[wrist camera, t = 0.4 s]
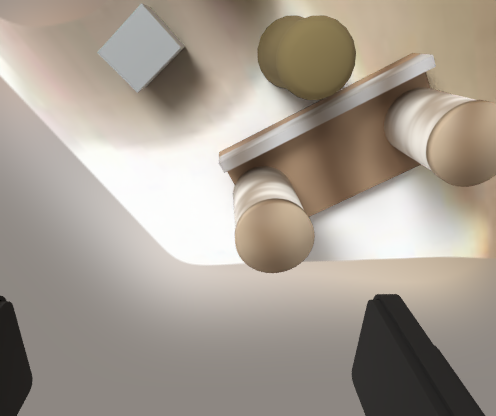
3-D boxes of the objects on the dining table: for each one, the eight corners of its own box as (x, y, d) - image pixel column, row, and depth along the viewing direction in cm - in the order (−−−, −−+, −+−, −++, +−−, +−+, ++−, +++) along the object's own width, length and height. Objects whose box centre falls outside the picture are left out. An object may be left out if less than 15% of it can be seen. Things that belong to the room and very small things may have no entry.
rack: (424, 47, 33) (505, 51, 24) (449, 143, 37) (527, 179, 28) (209, 157, 36) (205, 200, 27) (253, 235, 40) (264, 296, 31)
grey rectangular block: (150, 7, 31) (141, 3, 27) (185, 46, 32) (180, 47, 29) (111, 50, 32) (97, 52, 28) (146, 86, 33) (137, 92, 30)
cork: (331, 21, 32) (381, 14, 22) (316, 92, 34) (355, 115, 24) (262, 10, 31) (282, -2, 21) (252, 84, 34) (266, 104, 24)
